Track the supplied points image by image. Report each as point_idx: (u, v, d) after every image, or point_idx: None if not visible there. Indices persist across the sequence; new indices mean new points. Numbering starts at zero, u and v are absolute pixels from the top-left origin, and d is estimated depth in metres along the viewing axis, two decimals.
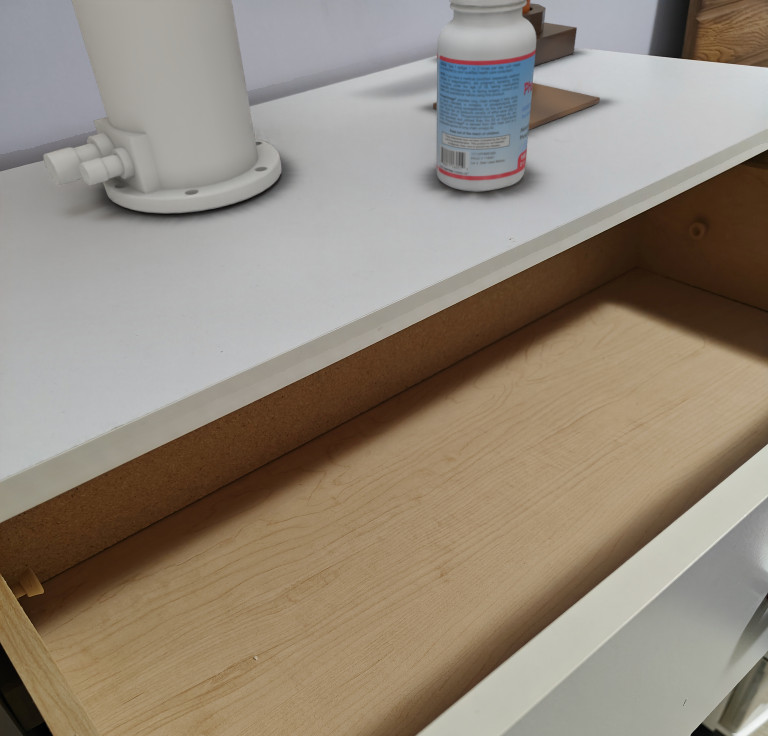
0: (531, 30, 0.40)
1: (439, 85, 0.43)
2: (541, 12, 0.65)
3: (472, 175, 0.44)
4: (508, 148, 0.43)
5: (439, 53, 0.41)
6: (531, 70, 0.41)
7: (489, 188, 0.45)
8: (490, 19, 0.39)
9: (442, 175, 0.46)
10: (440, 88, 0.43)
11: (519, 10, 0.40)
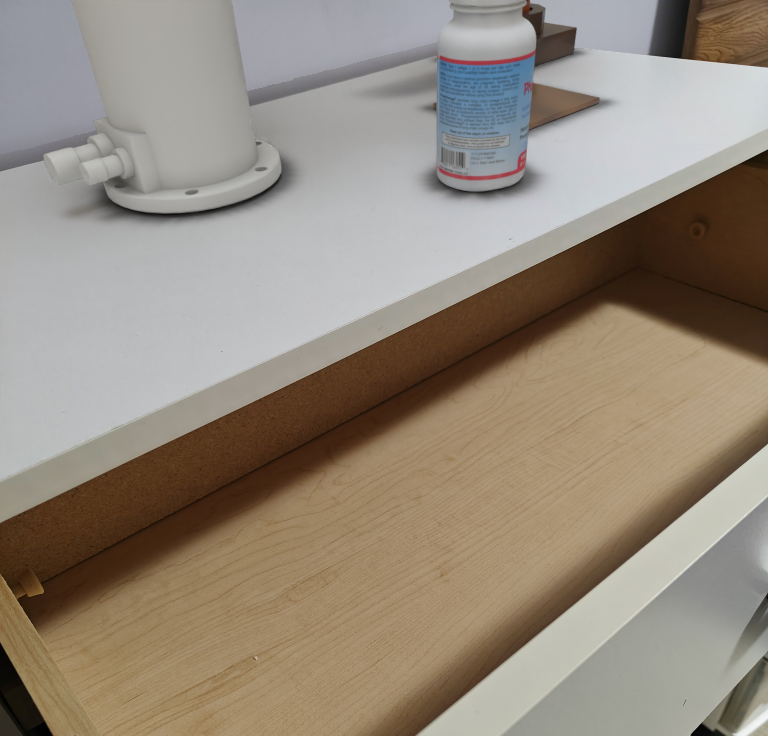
0: (531, 30, 0.40)
1: (439, 85, 0.43)
2: (541, 12, 0.65)
3: (472, 175, 0.44)
4: (508, 148, 0.43)
5: (439, 53, 0.41)
6: (531, 70, 0.41)
7: (489, 188, 0.45)
8: (490, 19, 0.39)
9: (442, 175, 0.46)
10: (440, 88, 0.43)
11: (519, 10, 0.40)
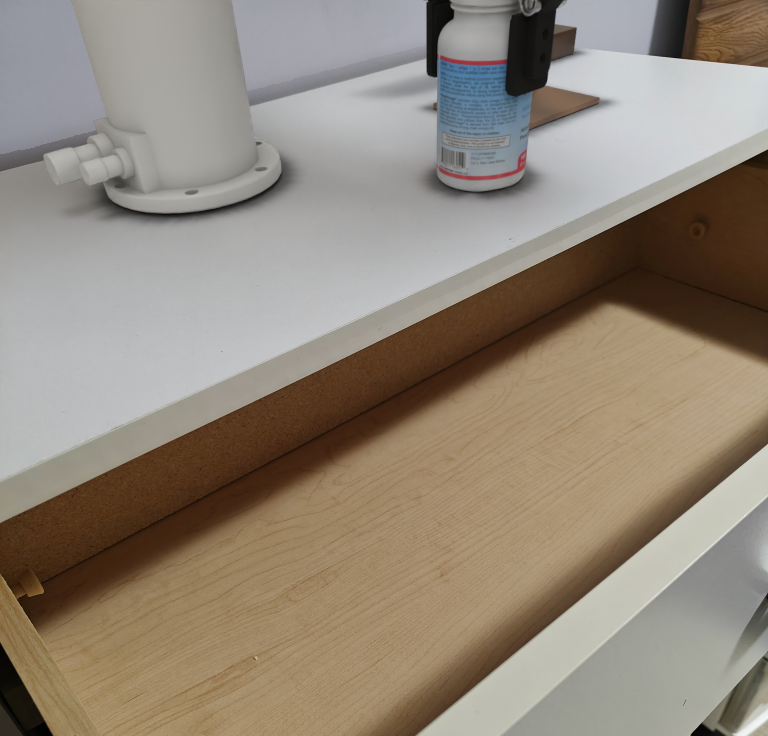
0: None
1: (439, 85, 0.42)
2: None
3: (473, 175, 0.44)
4: (508, 148, 0.43)
5: (440, 53, 0.41)
6: None
7: (489, 188, 0.45)
8: (491, 19, 0.39)
9: (442, 174, 0.46)
10: (440, 88, 0.43)
11: (520, 10, 0.40)
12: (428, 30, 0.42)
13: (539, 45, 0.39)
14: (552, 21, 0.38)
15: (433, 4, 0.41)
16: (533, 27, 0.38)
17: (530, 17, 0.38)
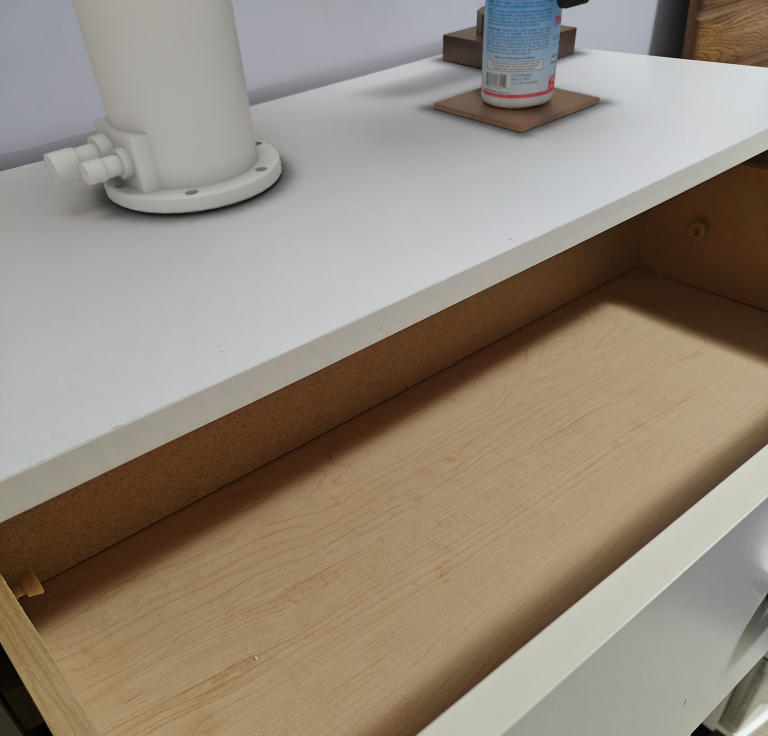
0: None
1: (487, 19, 0.53)
2: None
3: (512, 94, 0.55)
4: (541, 71, 0.54)
5: None
6: None
7: (525, 105, 0.56)
8: None
9: (486, 96, 0.57)
10: (487, 22, 0.53)
11: None
12: None
13: None
14: None
15: None
16: None
17: None
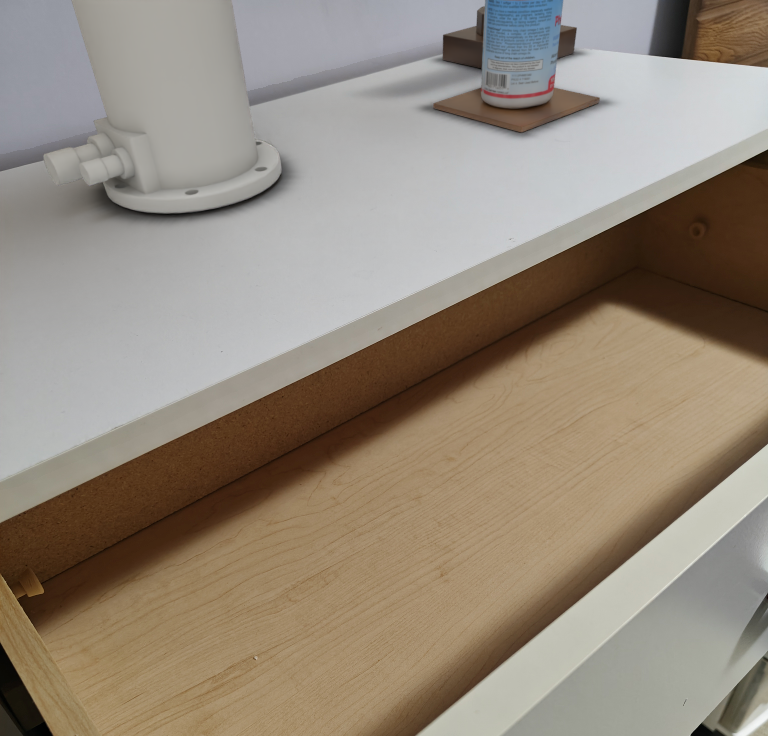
0: None
1: (487, 19, 0.53)
2: None
3: (512, 94, 0.55)
4: (541, 71, 0.54)
5: None
6: (561, 6, 0.52)
7: (525, 105, 0.56)
8: None
9: (486, 96, 0.57)
10: (487, 22, 0.53)
11: None
12: None
13: None
14: None
15: None
16: None
17: None
